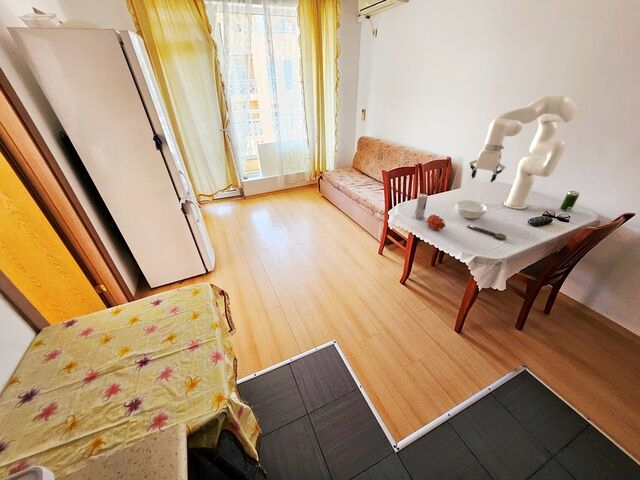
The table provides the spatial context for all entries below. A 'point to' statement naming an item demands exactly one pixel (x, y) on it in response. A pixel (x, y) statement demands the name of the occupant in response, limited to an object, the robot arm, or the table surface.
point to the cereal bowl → (470, 209)
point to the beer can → (569, 201)
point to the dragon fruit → (435, 222)
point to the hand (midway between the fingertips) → (482, 179)
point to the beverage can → (420, 206)
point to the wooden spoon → (489, 232)
